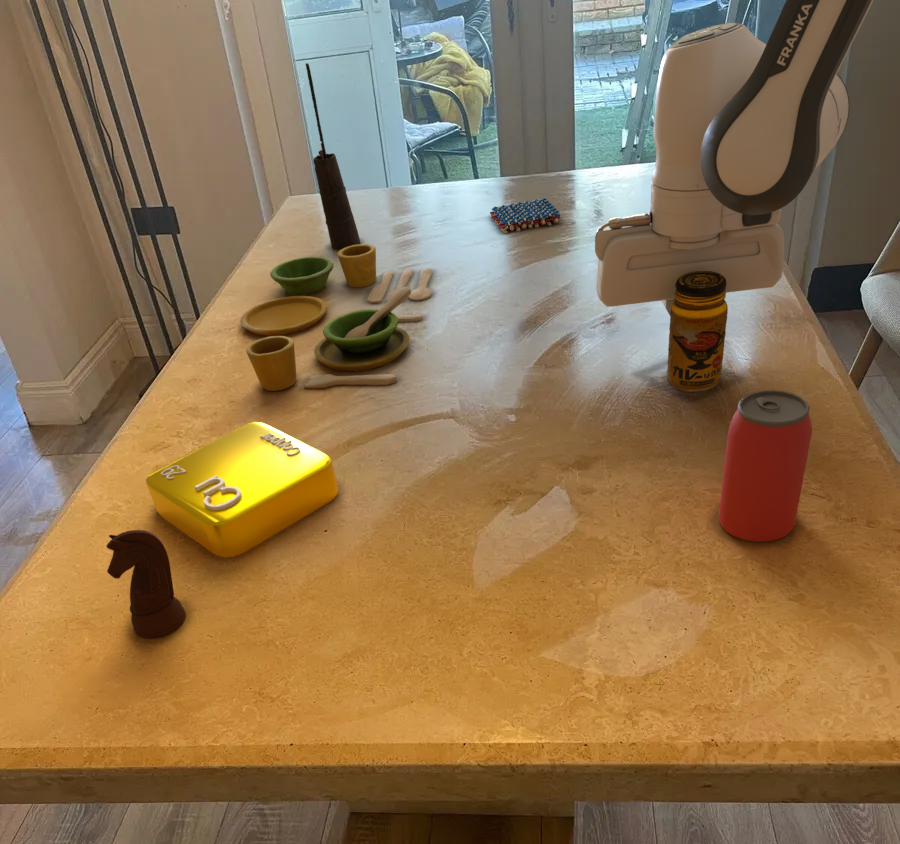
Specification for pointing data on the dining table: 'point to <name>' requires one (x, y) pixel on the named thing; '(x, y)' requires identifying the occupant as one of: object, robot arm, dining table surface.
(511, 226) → the woven mat
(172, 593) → the chess piece
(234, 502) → the element tile
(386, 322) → the tableware set
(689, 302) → the condiment
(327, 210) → the butter churn
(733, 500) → the beer can
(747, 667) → the dining table surface
